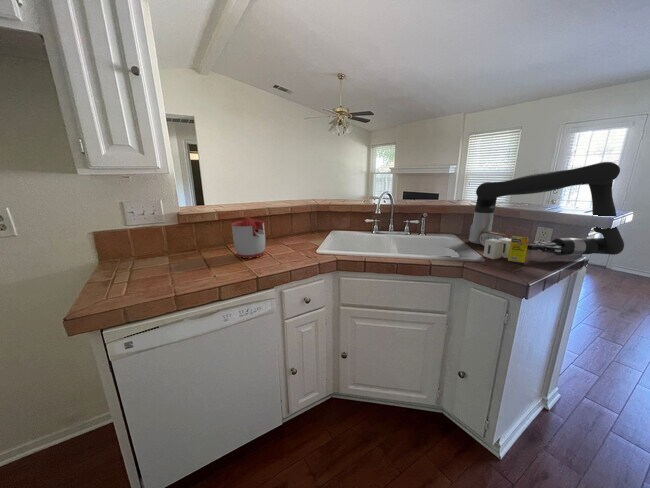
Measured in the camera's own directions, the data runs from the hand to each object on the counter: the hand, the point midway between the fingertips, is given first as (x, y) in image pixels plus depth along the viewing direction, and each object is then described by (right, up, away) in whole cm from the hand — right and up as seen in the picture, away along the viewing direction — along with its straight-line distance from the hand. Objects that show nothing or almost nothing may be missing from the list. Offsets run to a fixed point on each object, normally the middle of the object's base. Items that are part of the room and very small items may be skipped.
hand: (527, 247), depth 112 cm
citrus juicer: (-125, -5, +16) cm, 126 cm away
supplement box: (-4, -7, +2) cm, 8 cm away
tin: (-1, -1, +22) cm, 22 cm away
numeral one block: (-10, -5, +8) cm, 14 cm away
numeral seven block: (-3, -4, +10) cm, 11 cm away
